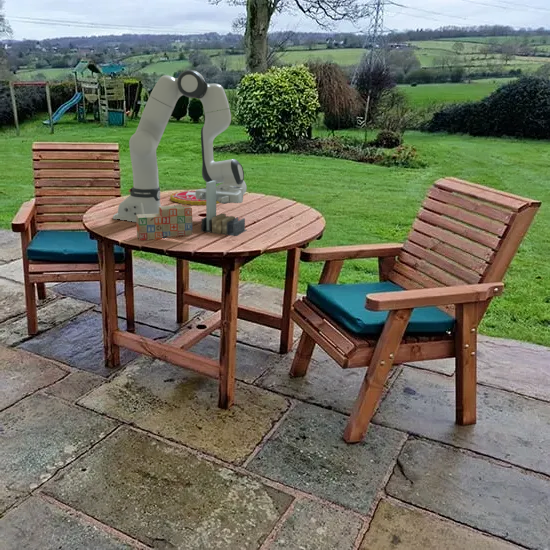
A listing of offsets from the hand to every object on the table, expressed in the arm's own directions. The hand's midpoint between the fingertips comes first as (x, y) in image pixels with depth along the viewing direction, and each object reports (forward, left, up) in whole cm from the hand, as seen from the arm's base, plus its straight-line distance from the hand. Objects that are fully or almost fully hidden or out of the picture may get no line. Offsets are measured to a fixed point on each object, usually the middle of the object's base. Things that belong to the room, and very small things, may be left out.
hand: (210, 198), depth 219 cm
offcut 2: (+6, 0, -13) cm, 14 cm away
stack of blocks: (-15, -13, -14) cm, 25 cm away
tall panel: (0, +1, -13) cm, 13 cm away
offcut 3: (+8, -1, -13) cm, 15 cm away
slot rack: (+6, 0, -14) cm, 15 cm away
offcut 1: (+4, 0, -13) cm, 13 cm away
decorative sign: (-26, +61, -15) cm, 68 cm away
